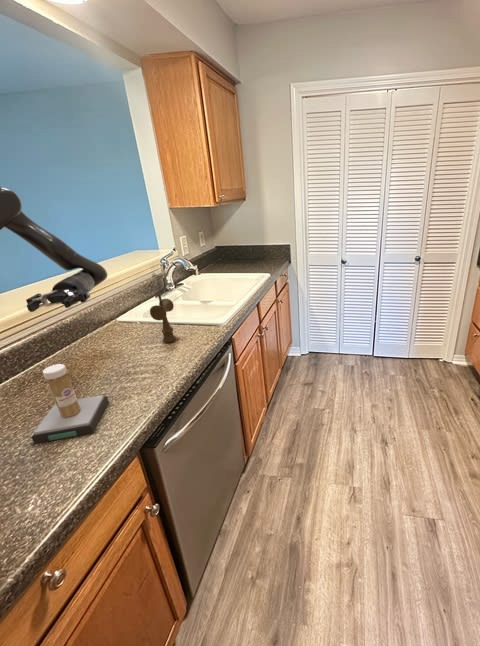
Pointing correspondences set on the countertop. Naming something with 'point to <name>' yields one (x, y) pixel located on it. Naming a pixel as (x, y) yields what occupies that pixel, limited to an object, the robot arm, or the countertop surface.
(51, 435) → the kitchen scale
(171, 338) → the kendama
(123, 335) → the countertop surface
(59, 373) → the sprinkles bottle
